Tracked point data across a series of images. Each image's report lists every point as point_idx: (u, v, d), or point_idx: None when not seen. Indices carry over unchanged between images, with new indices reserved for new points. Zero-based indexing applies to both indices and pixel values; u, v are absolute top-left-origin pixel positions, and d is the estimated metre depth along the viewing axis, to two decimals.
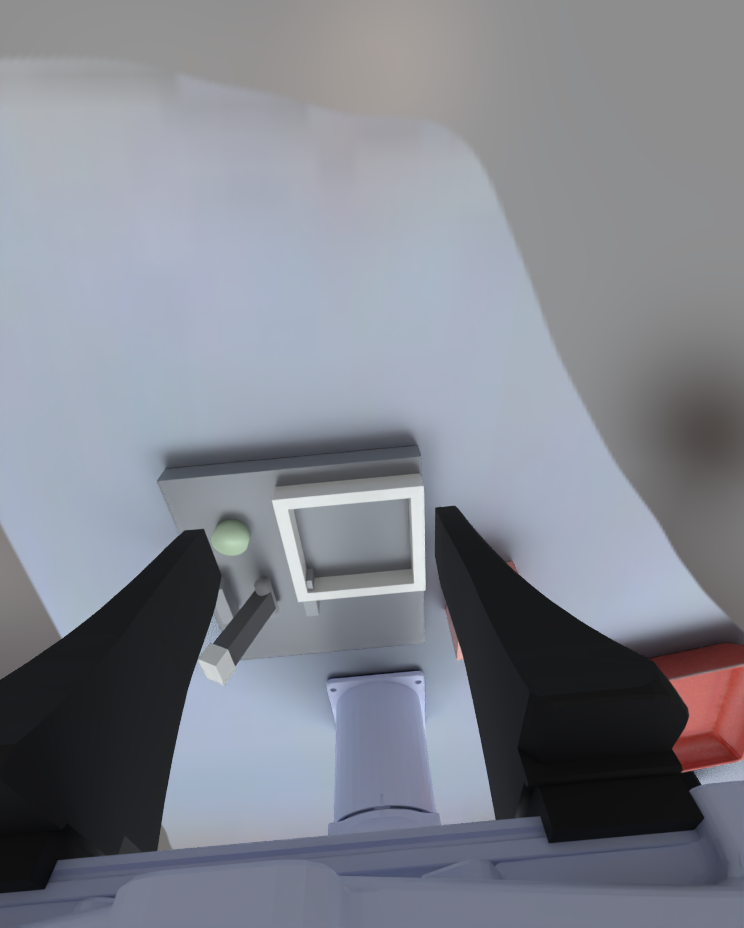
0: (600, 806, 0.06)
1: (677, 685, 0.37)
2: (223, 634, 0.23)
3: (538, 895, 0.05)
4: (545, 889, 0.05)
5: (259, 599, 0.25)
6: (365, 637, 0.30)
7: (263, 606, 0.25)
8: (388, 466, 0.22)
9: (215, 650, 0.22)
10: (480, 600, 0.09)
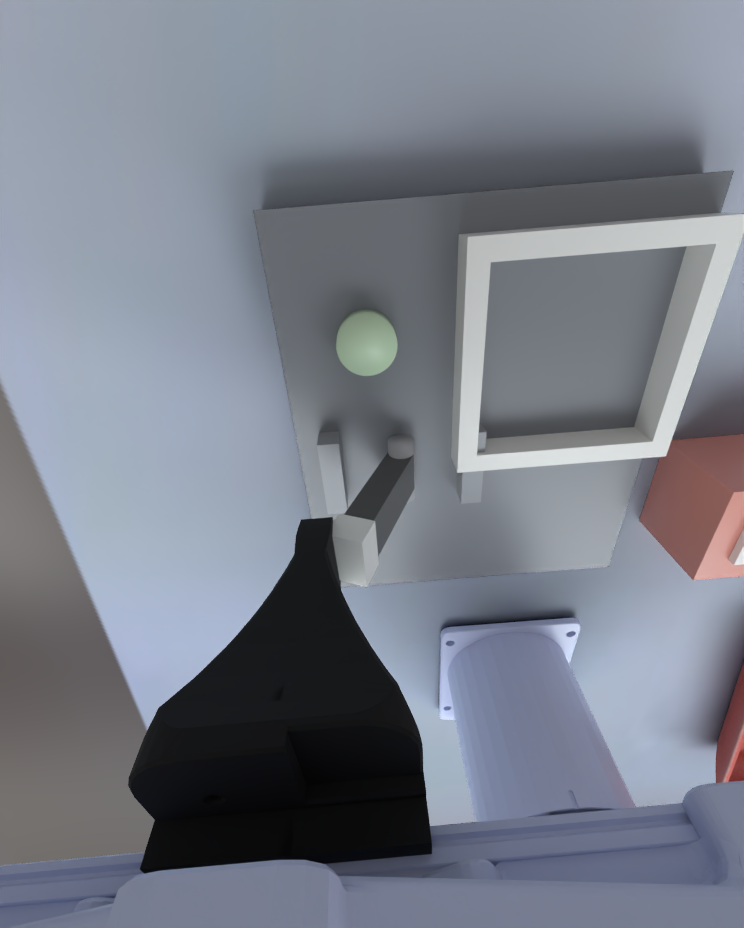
0: (336, 830, 0.06)
1: None
2: (356, 503, 0.13)
3: (537, 895, 0.05)
4: (545, 889, 0.05)
5: (400, 462, 0.15)
6: (525, 554, 0.20)
7: (406, 474, 0.15)
8: (668, 193, 0.12)
9: (352, 522, 0.12)
10: (286, 618, 0.09)
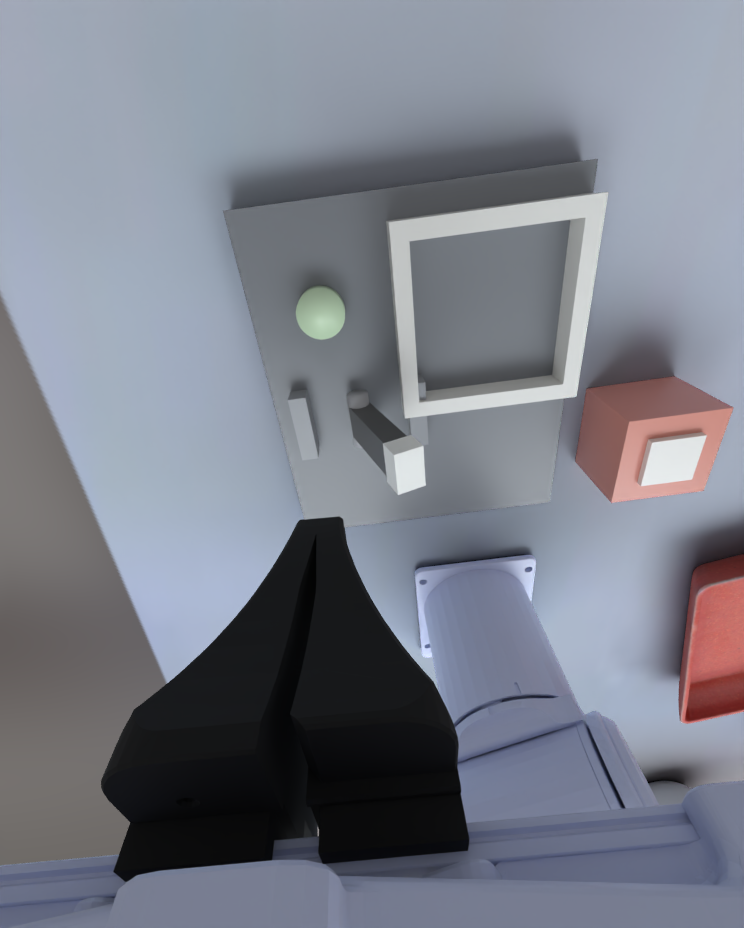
0: (372, 827, 0.06)
1: None
2: (382, 436, 0.17)
3: (537, 895, 0.05)
4: (545, 889, 0.05)
5: (368, 408, 0.19)
6: (476, 493, 0.23)
7: None
8: (548, 179, 0.16)
9: (399, 442, 0.16)
10: (313, 615, 0.09)
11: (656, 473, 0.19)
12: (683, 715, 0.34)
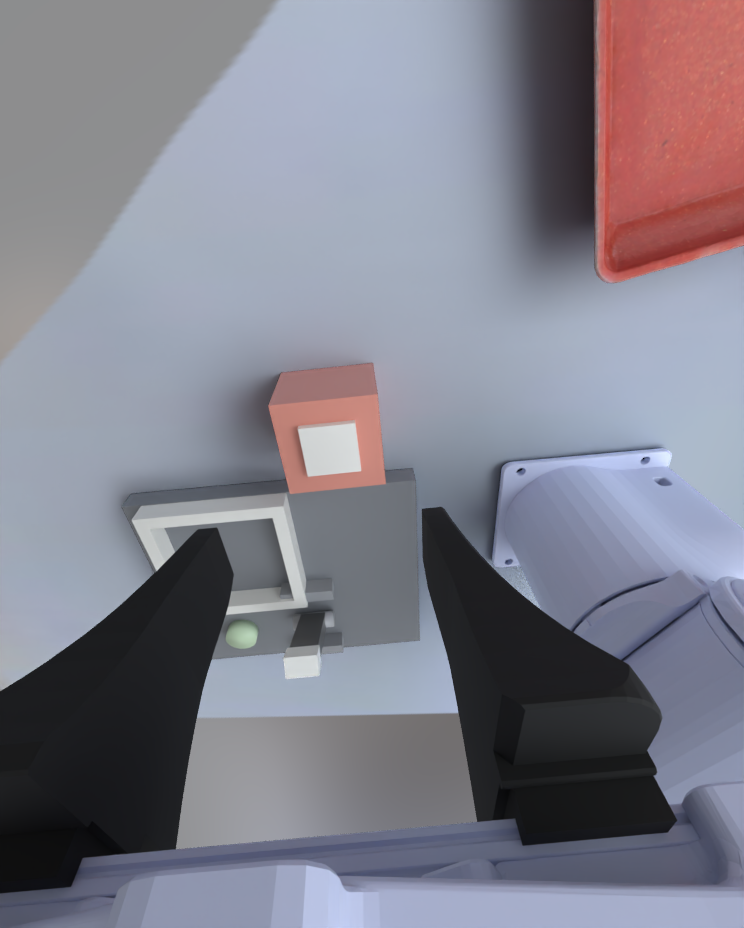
0: (574, 808, 0.06)
1: None
2: None
3: (538, 895, 0.05)
4: (545, 889, 0.05)
5: None
6: (395, 540, 0.25)
7: (304, 620, 0.26)
8: None
9: None
10: (461, 602, 0.09)
11: (344, 461, 0.18)
12: None
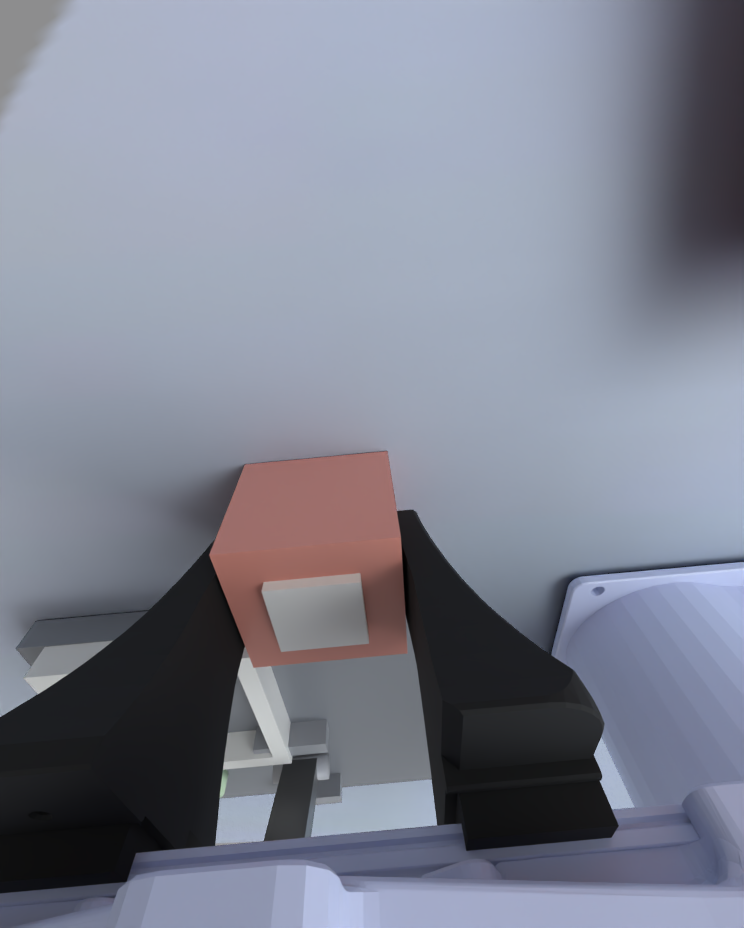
0: (517, 814, 0.06)
1: None
2: None
3: (537, 895, 0.05)
4: (545, 889, 0.05)
5: (281, 778, 0.20)
6: (414, 678, 0.18)
7: (288, 775, 0.19)
8: None
9: None
10: (419, 606, 0.09)
11: (342, 632, 0.11)
12: None
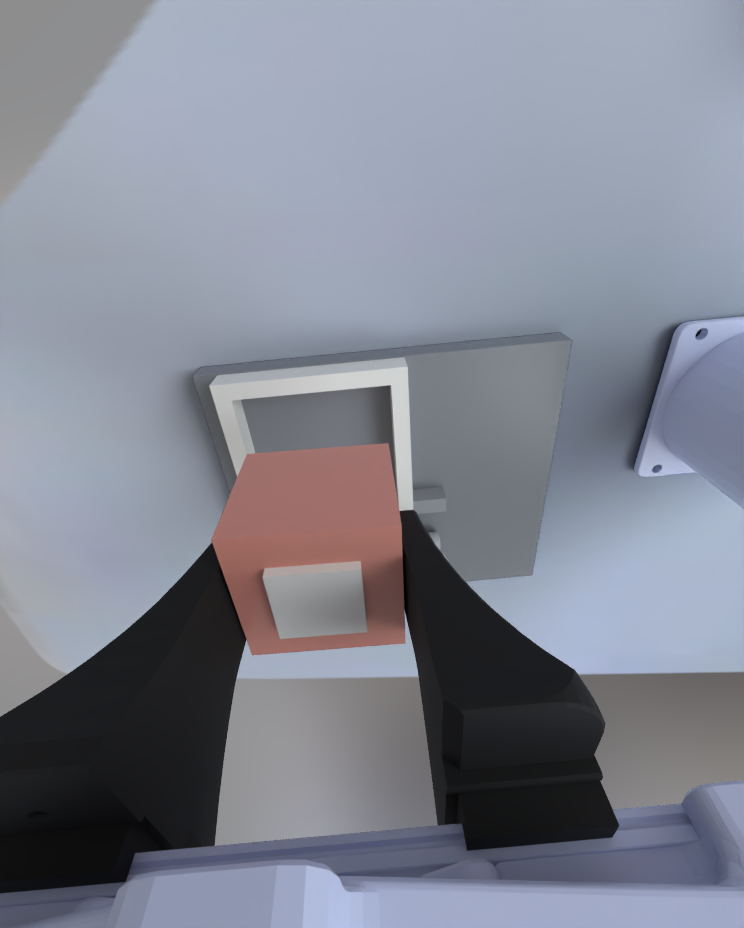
0: (518, 814, 0.06)
1: None
2: None
3: (537, 895, 0.05)
4: (545, 889, 0.05)
5: None
6: (529, 432, 0.20)
7: None
8: (214, 413, 0.18)
9: None
10: (419, 606, 0.09)
11: (341, 620, 0.11)
12: None
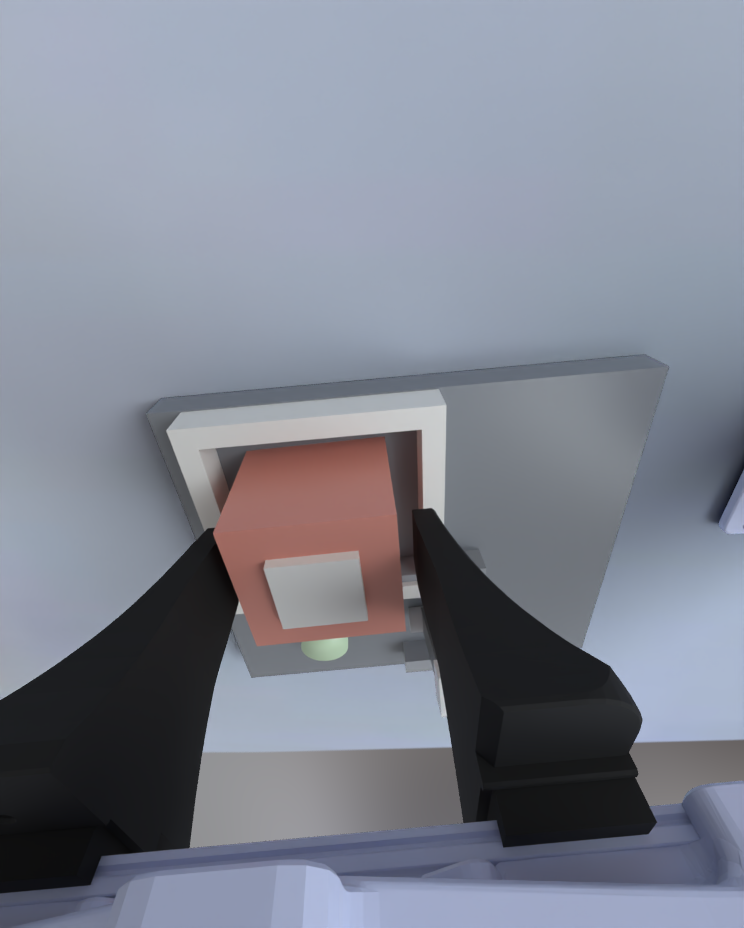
0: (554, 810, 0.06)
1: None
2: (435, 674, 0.14)
3: (537, 895, 0.05)
4: (545, 889, 0.05)
5: (423, 622, 0.17)
6: (597, 484, 0.15)
7: None
8: (178, 461, 0.14)
9: (436, 683, 0.13)
10: (446, 603, 0.09)
11: (341, 609, 0.11)
12: None
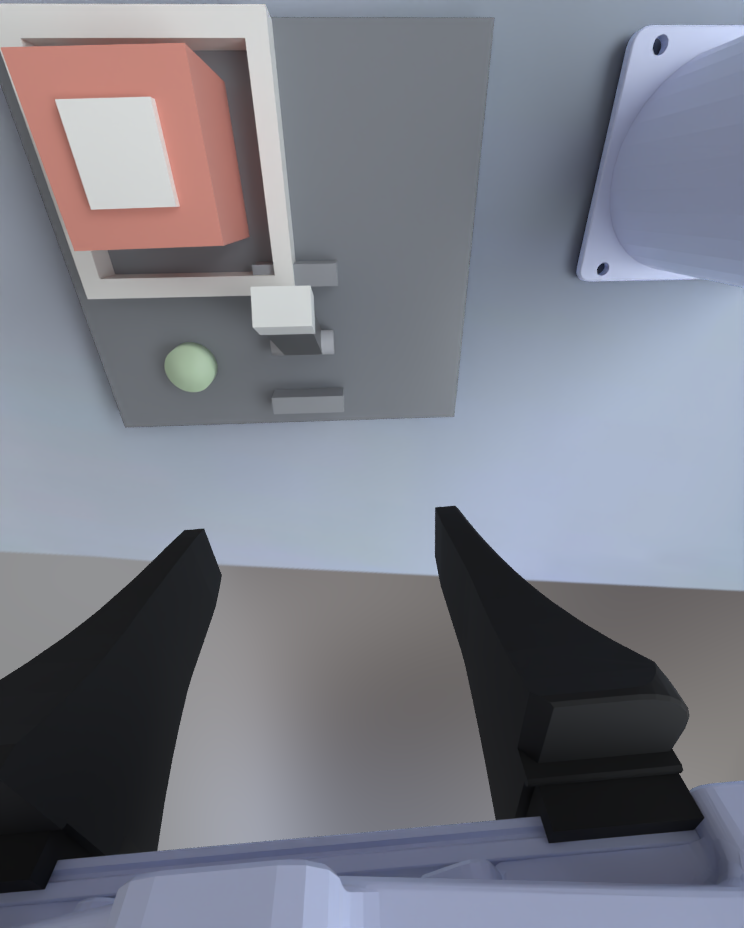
0: (600, 806, 0.06)
1: None
2: None
3: (537, 895, 0.05)
4: (545, 889, 0.05)
5: None
6: (443, 178, 0.16)
7: None
8: None
9: None
10: (480, 600, 0.09)
11: (146, 183, 0.12)
12: None
